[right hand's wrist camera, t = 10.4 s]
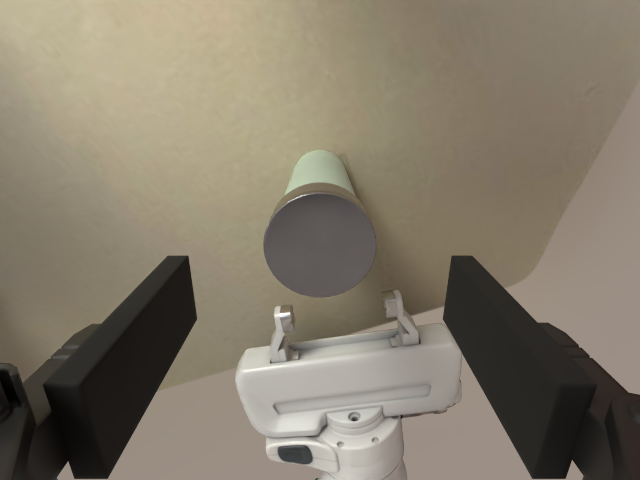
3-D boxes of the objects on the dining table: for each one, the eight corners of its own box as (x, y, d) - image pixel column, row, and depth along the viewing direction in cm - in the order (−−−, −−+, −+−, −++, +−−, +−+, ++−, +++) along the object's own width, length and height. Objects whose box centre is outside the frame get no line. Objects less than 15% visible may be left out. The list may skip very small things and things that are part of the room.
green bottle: (283, 182, 34) (250, 255, 18) (313, 138, 33) (307, 175, 17) (325, 212, 35) (330, 305, 19) (357, 170, 34) (390, 234, 18)
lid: (250, 242, 20) (242, 260, 18) (307, 160, 19) (306, 169, 16) (330, 293, 21) (331, 315, 19) (390, 220, 20) (399, 236, 17)
